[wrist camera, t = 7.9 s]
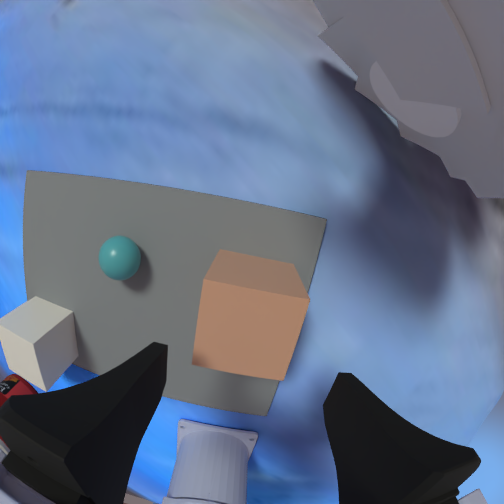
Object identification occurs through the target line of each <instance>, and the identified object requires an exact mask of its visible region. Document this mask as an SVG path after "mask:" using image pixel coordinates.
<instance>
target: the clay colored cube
mask: <svg viewBox="0 0 504 504" xmlns="http://www.w3.org/2000/svg"><path fill="white" fill-rule="evenodd" d="M309 302H310V298H309V296H308V294H307V292H306V289H305V287H304V285H303V283H302V281H301V279H300V277H299V274H298V272H297V270H296V268H295V266H294V264H291V263H286V262H281V261H276V260H271V259H266V258H261V257H257V256H252V255H247V254H242V253H237V252H232V251H227V250H222V249H220V250H219V251H218V253H217V255H216V257H215V259H214V261H213V262H212V264H211V266H210V268H209V270H208V272H207V273H206V275H205V277H204V279H203V285H202V292H201V298H200V305H199V312H198V319H197V326H196V334H195V341H194V349H193V357H192V365H196V366H200V367H205V368H209V369H214V370H219V371H224V372H229V373H235V374H241V375H247V376H253V377H259V378H266V379H273V380H281V381H283V380H284V377H285V375H286V372H287V369H288V366H289V363H290V361H291V358H292V355H293V352H294V349H295V346H296V343H297V340H298V337H299V334H300V331H301V328H302V325H303V321H304V318H305V315H306V312H307V309H308V305H309Z"/></svg>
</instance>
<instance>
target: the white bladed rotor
mask: <svg viewBox="0 0 504 504" xmlns="http://www.w3.org/2000/svg"><path fill="white" fill-rule="evenodd" d="M313 2H314V3H315V5H316V7H317V8H318V10H319V11H320V13H321V15H322V17H323V18H324V20H325V22H326V24H327V25H328V27H329V28H327V29H326V30H324V31H323V32H322V33H321V34H319V35H318V37H319V38H320V39H321V40H322V41H323V42H325V43H326V44H327V45H328V46H329V47H330V48H331V49H332V50H333V51H334V52H335V53H336V54H337V55H338V56H339V57H340V58H341V59H342V60H343V61H344V62H345V63H346V64H347V65H348V66H349V67H350V68H351V69H352V70H353V71H354V72H355V74H356V75H357V76H358V79H357V82H356V86H355V90H356V91H358V92H359V93H361V94H362V95H364V96H365V97H367V98H368V99H369V100H371V101H372V102H374V103H375V104H376V105H378V106H379V107H380V108H382V109H383V110H384V111H386V112H387V113H388V114H390V115H391V116H392V117H394V118H395V119H396V120H397V123H398V127H399V132H400V136H401V137H403V138H405V139H407V140H409V141H411V142H413V143H415V144H417V145H419V146H421V147H423V148H425V149H427V150H429V151H431V152H433V153H435V154H436V155H438V156H440V158H441V160H442V162H443V164H444V166H445V167H446V169H447V171H448V173H449V175H450V177H452V178H457V179H461V180H465V181H466V182H467V184H468V185H469V187H470V188H471V190H472V191H473V192H474V194H475V195H476V197H477V198H504V0H313Z"/></svg>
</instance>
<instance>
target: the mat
mask: <svg viewBox="0 0 504 504" xmlns="http://www.w3.org/2000/svg"><path fill="white" fill-rule="evenodd" d="M326 221H327V219H324V218H320V217H316V216H312V215H307V214H303V213H299V212H294V211H290V210H285V209H281V208H276V207H272V206H267V205H262V204H257V203H252V202H247V201H242V200H237V199H232V198H227V197H222V196H216V195H211V194H206V193H200V192H194V191H189V190H183V189H177V188H171V187H164V186H158V185H152V184H145V183H138V182H131V181H124V180H116V179H109V178H101V177H93V176H84V175H75V174H65V173H55V172H44V171H32V170H27V174H26V183H25V194H24V210H23V256H24V272H25V284H26V293H27V301H28V300H30V299H32V298H33V297H35V296H37V297H39V298H41V299H44V300H46V301H49V302H51V303H53V304H56V305H58V306H61V307H63V308H66V309H68V310H71V311H73V315H74V325H75V334H76V341H77V348H78V355H79V356H78V357H77V358H76V359H75V361H74V362H73V363H72V364H74V365H76V366H79V367H81V368H83V369H86V370H88V371H90V372H93V373H95V374H98V375H102V374H104V373H106V372H108V371H109V370H111V369H113V368H115V367H117V366H118V365H120V364H122V363H123V362H125V361H126V360H128V359H129V358H131V357H132V356H134V355H135V354H137V353H138V352H140V351H141V350H142V349H144V348H145V347H147V346H148V345H149V344H151V343H152V342H158V343H162V344H166V345H168V357H167V381H166V384H165V388H164V391H163V394H162V396H164V397H167V398H171V399H175V400H179V401H183V402H187V403H192V404H196V405H201V406H205V407H210V408H215V409H221V410H226V411H232V412H239V413H245V414H252V415H260V416H267V413H268V410H269V408H270V405H271V402H272V400H273V397H274V394H275V392H276V389H277V386H278V383H279V380H273V379H266V378H259V377H253V376H247V375H241V374H235V373H229V372H224V371H219V370H214V369H209V368H205V367H200V366H196V365H192V357H193V349H194V341H195V334H196V326H197V319H198V312H199V305H200V298H201V292H202V285H203V279H204V277H205V275H206V273H207V272H208V270H209V268H210V266H211V264H212V262H213V261H214V259H215V257H216V255H217V253H218V251H219V250H220V249H222V250H227V251H232V252H237V253H242V254H247V255H252V256H257V257H261V258H266V259H271V260H276V261H281V262H286V263H291V264H294V266H295V268H296V270H297V272H298V274H299V277H300V279H301V281H302V283H303V285H304V287H305V289H306V292H307V293H308V290H309V286H310V283H311V279H312V276H313V272H314V268H315V265H316V261H317V257H318V253H319V249H320V245H321V242H322V238H323V234H324V229H325V225H326ZM114 236H126V237H128V238H130V239H132V240H133V241H134V242H135V243H136V245H137V246H138V248H139V250H140V254H141V262H140V266H139V268H138V270H137V272H136V273H135V274H134V275H133V276H132V277H130V278H129V279H126V280H114V279H111V278H109V277H108V276H107V275H105V274H104V272H103V271H102V269H101V267H100V265H99V258H98V257H99V251H100V248H101V246H102V245H103V243H104V242H105V241H106V240H108V239H109V238H111V237H114Z"/></svg>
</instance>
